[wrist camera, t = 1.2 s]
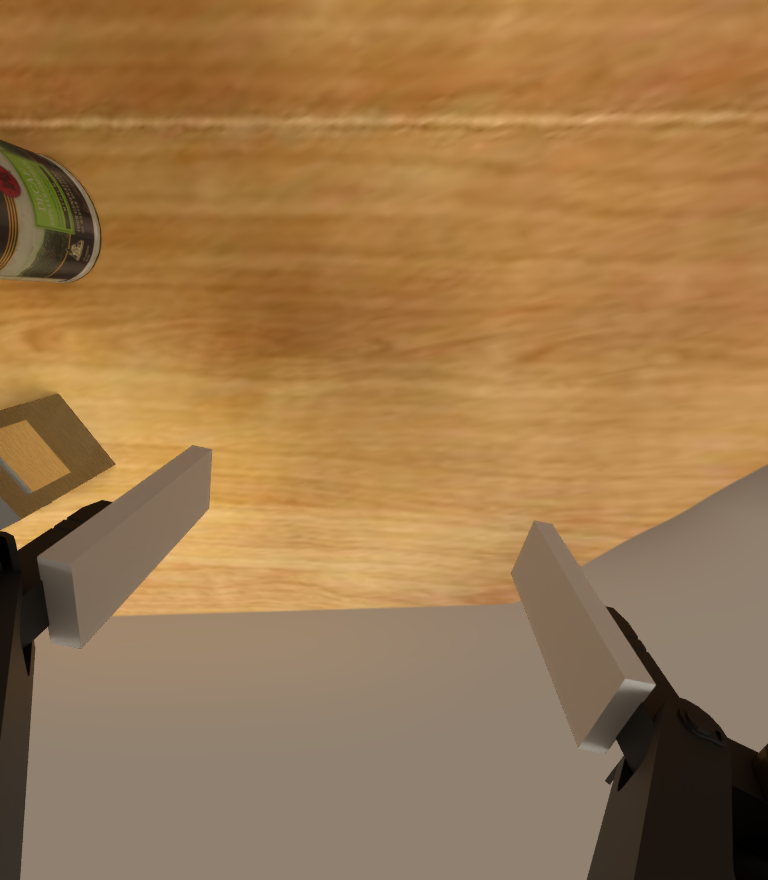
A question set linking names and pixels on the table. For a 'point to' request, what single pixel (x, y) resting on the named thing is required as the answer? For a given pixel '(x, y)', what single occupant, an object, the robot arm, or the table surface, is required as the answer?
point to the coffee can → (44, 220)
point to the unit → (43, 456)
